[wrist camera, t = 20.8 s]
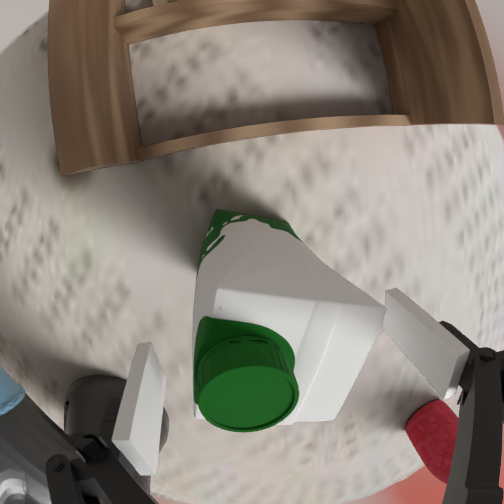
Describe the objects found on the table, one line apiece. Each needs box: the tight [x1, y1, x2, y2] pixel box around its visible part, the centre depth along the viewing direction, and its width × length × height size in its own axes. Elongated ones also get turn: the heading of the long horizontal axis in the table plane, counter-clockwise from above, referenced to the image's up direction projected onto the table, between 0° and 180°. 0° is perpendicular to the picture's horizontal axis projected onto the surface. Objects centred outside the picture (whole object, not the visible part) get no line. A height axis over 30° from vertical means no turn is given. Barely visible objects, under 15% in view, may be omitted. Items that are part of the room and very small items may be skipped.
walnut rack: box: [48, 0, 504, 176], centre depth 17 cm, size 28×19×14 cm, turn 99°
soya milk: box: [192, 210, 387, 432], centre depth 20 cm, size 9×9×20 cm
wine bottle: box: [406, 400, 459, 484], centre depth 31 cm, size 10×10×30 cm
